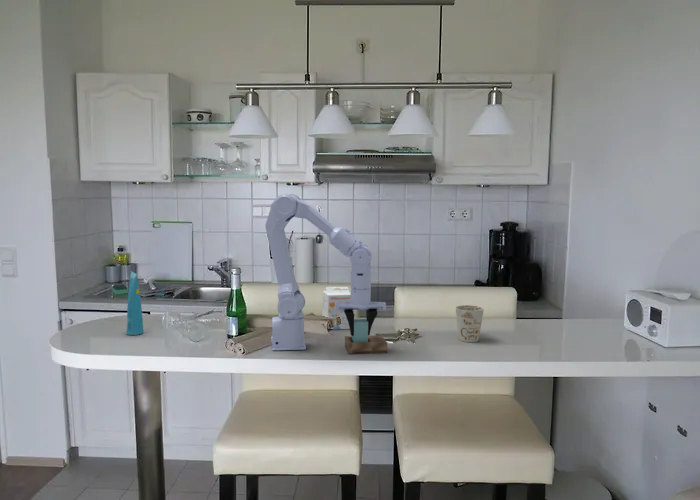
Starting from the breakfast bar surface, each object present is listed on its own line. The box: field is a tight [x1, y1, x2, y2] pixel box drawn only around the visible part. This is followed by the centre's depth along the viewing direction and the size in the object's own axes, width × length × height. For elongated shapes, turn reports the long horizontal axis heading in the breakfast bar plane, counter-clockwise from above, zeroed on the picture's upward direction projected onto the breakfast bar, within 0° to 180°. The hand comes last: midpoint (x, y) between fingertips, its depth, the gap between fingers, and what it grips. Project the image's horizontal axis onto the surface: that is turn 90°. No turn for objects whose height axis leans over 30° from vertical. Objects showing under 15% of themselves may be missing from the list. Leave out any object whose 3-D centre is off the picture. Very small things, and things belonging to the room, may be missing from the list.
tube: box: [126, 271, 144, 336], centre depth 163 cm, size 7×5×19 cm, turn 39°
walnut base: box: [344, 335, 388, 355], centre depth 151 cm, size 11×8×3 cm
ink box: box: [321, 286, 351, 331], centre depth 176 cm, size 9×8×13 cm
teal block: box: [352, 318, 369, 342], centre depth 150 cm, size 4×4×6 cm
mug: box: [455, 304, 484, 343], centre depth 164 cm, size 8×13×10 cm, turn 152°
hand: (359, 334), depth 150 cm, fingers closed on teal block, 4 cm apart
